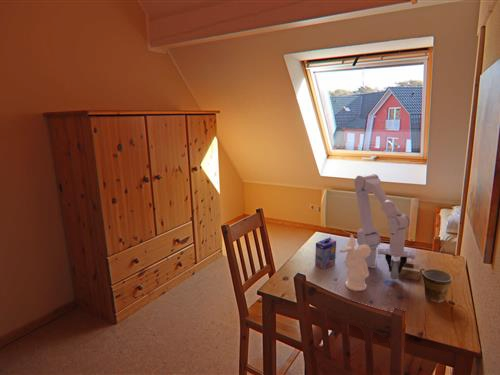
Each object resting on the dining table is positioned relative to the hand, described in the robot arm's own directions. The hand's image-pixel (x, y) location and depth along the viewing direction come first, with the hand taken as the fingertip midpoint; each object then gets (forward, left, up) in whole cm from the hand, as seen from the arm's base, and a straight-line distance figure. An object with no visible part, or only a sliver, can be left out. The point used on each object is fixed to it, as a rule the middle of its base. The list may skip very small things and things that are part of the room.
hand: (394, 271), depth 139 cm
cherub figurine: (-17, -11, -5) cm, 21 cm away
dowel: (0, 0, -3) cm, 3 cm away
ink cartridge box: (-31, +5, -5) cm, 32 cm away
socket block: (+6, +9, -5) cm, 11 cm away
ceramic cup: (+14, -7, -5) cm, 16 cm away
